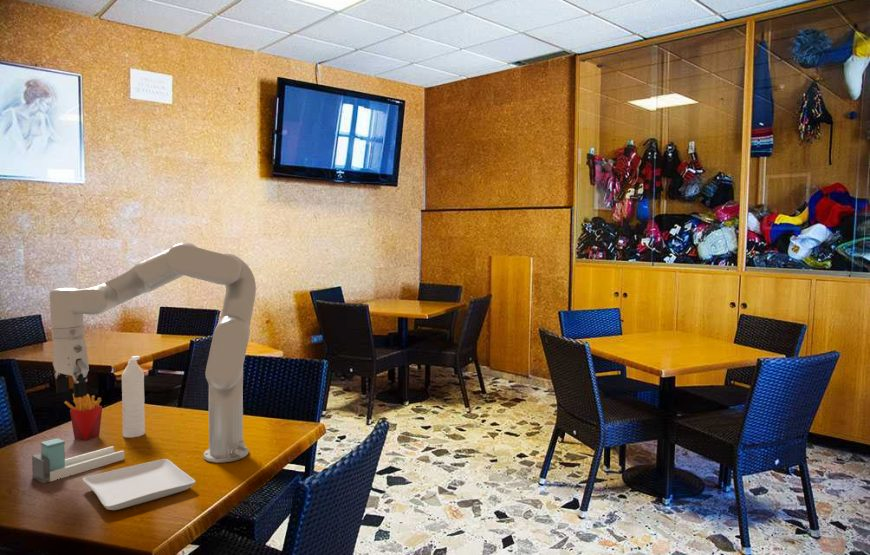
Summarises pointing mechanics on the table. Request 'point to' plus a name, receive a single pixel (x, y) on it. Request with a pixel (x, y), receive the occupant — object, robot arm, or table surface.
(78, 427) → the french fries
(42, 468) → the channel
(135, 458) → the table surface
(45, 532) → the table surface
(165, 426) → the table surface
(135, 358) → the water bottle
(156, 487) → the salad plate
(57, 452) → the block
